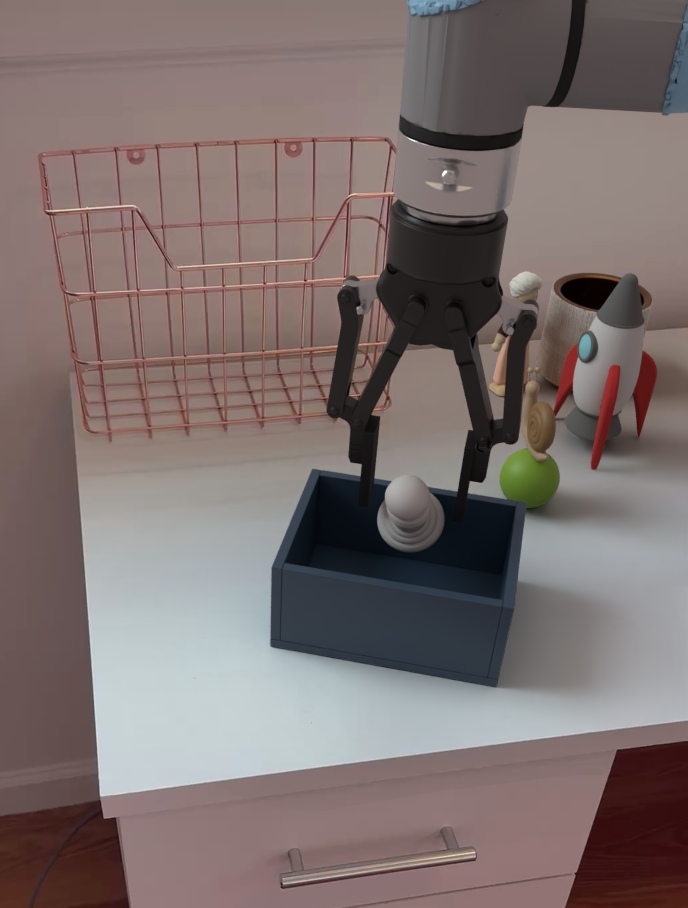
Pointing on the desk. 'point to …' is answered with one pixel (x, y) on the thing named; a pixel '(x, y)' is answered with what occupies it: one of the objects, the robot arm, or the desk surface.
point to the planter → (575, 317)
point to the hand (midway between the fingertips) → (412, 504)
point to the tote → (397, 583)
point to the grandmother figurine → (521, 291)
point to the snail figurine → (532, 454)
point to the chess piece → (410, 515)
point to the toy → (609, 370)
